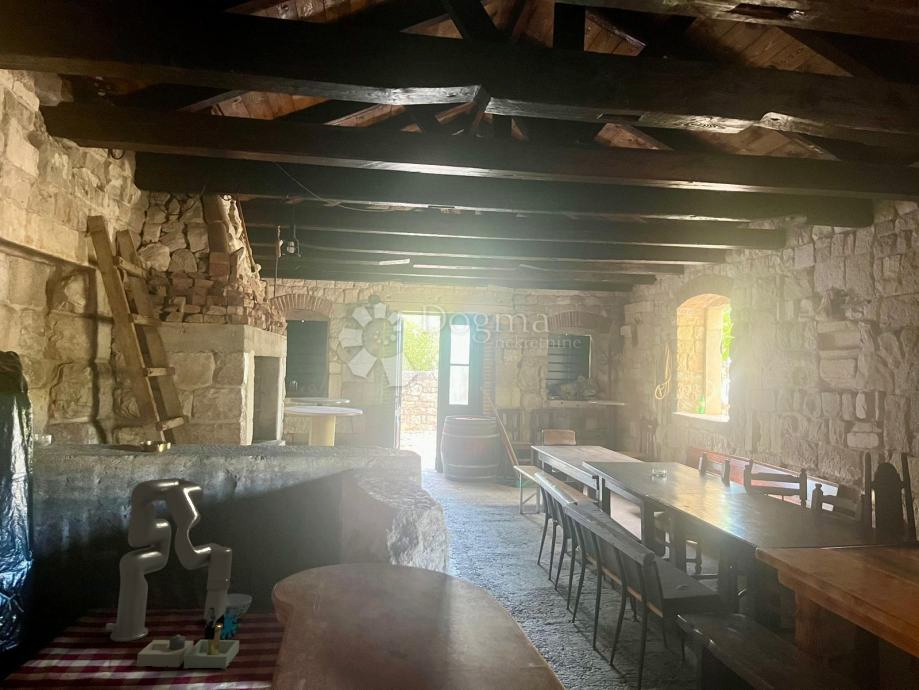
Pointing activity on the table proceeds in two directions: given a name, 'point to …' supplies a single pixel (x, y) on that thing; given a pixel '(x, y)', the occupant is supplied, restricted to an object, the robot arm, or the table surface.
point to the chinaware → (237, 605)
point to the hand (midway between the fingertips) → (214, 633)
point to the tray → (201, 660)
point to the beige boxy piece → (165, 652)
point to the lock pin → (214, 641)
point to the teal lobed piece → (229, 626)
